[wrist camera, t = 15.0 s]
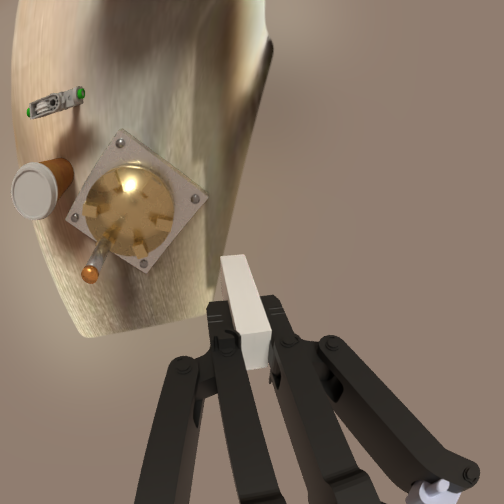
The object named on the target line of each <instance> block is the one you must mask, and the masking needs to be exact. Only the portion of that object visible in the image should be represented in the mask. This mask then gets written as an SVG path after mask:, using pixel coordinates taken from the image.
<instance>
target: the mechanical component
mask: <svg viewBox="0 0 504 504" xmlns="http://www.w3.org/2000/svg"><path fill="white" fill-rule="evenodd" d="M84 97H85V90H84V89H83V88H82V87H80V86H78V87H75V88H74V89H71V90H68V91H65V92H60V93H52V94H50V95H48V96H46V97H44V98H41V99H39V100H36V101H34V102H32V103H29V107H30V108H28V109H27V116H28V117H30V119H36V118H41V117H44V116H47V115H50V114H52V113H55V112H58V111H62V110H66V109H68V108H70V107H73V106H77V105H80V104H83V98H84ZM45 99H46V100H45Z"/></svg>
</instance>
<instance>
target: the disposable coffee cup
mask: <svg viewBox="0 0 504 504" xmlns="http://www.w3.org/2000/svg"><path fill="white" fill-rule="evenodd" d="M73 176H74V172H73V168H72V165H71V164H70V163H69V161H67V160H66V159H64V158H57V159H52V160H48V161H43V162H39V163H38V162H30V163H27V164H25V165H23V166H22V167H21V168H20V169H19V170H18V172H17V174H16V175H15V177H14V179H13V182H12V187H11V196H12V201H13V204H14V206H15V208H16V209H17V211H18V212H19V213H20V215H22V216H23V217H25V218H27V219H29V220H40V219H44V218H46V217H47V216H49V215H50V214H51V213H52V211H53V210H54V208H55V206H56V202H57V201H58V200H59V198H60V197H61V196H62V195H63V193H64V192H65V191H66V189H67V188H68V187H69V186H70V184H71V183H72V180H73Z"/></svg>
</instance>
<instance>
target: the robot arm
mask: <svg viewBox="0 0 504 504" xmlns="http://www.w3.org/2000/svg"><path fill="white" fill-rule="evenodd" d="M220 261H221V285H222V295H223V300H224V301H215V302H209V304H208V306H207V308H206V310H207V320H208V329H209V337H210V344H211V345H210V349H209V350H208V352H207V353H206V354H205V355H203V356H201V357H198V358H196V359H193V358H192V357H188V356H180V357H177V358H175V359H174V360H172V361H171V363H170V365H169V367H168V370H167V374H166V377H165V381H164V384H163V387H162V391H161V395H160V398H159V402H158V406H157V409H156V413H155V417H154V421H153V424H152V429H151V433H150V436H149V440H148V444H147V448H146V452H145V456H144V461H143V465H142V469H141V474H140V478H139V483H138V487H137V492H136V497H135V502H134V504H189V499H190V492H191V485H192V478H193V472H194V465H195V458H196V451H197V445H198V438H199V432H200V425H201V419H202V413H203V407H204V400H205V398H207V397H210V396H212V395H215V394H217V393H218V399H219V405H220V411H221V417H222V422H223V427H224V433H225V438H226V444H227V448H228V454H229V458H230V463H231V468H232V473H233V477H234V482H235V486H236V491H237V495H238V499H239V503H240V504H286V501H285V499H284V497H283V496H282V494H281V492H280V490H279V487H278V483H277V480H276V477H275V473H274V470H273V466H272V463H271V460H270V456H269V453H268V449H267V446H266V442H265V438H264V435H263V431H262V428H261V424H260V420H259V417H258V413H257V409H256V405H255V401H254V397H253V394H252V390H251V386H250V382H249V378H248V374H247V370H250V369H258V368H264V367H268V362H269V365H270V368H271V369H270V376H269V384H271V382H272V383H273V386H274V389H275V393H276V396H277V399H278V402H279V405H280V408H281V412H282V414H283V418H284V421H285V424H286V427H287V430H288V433H289V436H290V439H291V442H292V446H293V449H294V452H295V455H296V457H297V461H298V463H299V467H300V470H301V472H302V476H303V479H304V481H305V484H306V487H307V490H308V502H309V504H386V503H383V502H381V501H380V499H379V497H378V495H377V493H376V490H375V488H374V486H373V483H372V481H371V479H370V477H369V475H368V474H367V473H366V472H365V471H363V470H361V469H359V467H358V466H357V464H356V461H355V459H354V457H353V455H352V452H351V450H350V448H349V445H348V443H347V441H346V439H345V436H344V434H343V432H342V430H341V427H340V425H339V423H338V420H337V418H336V416H335V413H336V414H337V415H338V417H339V418H340V419H341V420H342V421H343V423H344V424H345V425H346V427H347V428H348V429H349V430H350V431H351V433H352V434H353V435H354V436H355V438H356V439H357V440H358V441H359V443H360V444H361V445H362V446H363V447H364V449H365V450H366V451H367V452H368V454H369V455H370V456H371V457H372V458H373V460H374V461H375V462H376V463H377V464H378V466H379V467H380V468H381V469H382V470H383V472H384V473H385V474H386V475H387V476H388V477H389V479H390V480H391V481H392V482H393V483H394V484H395V485H396V486H398V487H399V488H400V489H402V490H403V491H405V492H407V493H408V496H407V497H406V503H407V504H456V503H457V500H458V498H459V496H460V494H461V492H462V491H465V490H467V489H469V488H471V487H473V486H474V485H475V484H476V483H477V481H478V479H479V476H480V469H479V467H478V465H477V464H476V463H475V462H473V461H471V460H468V459H466V458H464V457H461V456H459V455H457V454H455V453H453V452H451V451H448V450H447V449H445V448H444V447H443V446H442V445H441V444H440V443H439V442H438V441H437V439H436V438H435V437H434V436H433V435H432V434H431V433H430V432H429V431H428V430H427V429H426V428H425V427H424V426H423V425H422V423H421V422H420V421H419V420H418V419H417V418H416V417H415V416H414V415H413V414H412V413H411V412H410V411H409V410H408V408H407V407H406V406H405V405H404V404H403V403H402V402H401V401H400V400H399V399H398V398H397V397H396V396H395V395H394V394H393V392H391V390H390V389H389V388H387V386H386V385H385V384H384V383H383V382H382V381H381V380H380V379H379V378H378V377H377V376H376V374H375V373H374V372H373V371H372V370H371V369H370V368H369V367H368V366H367V365H366V364H365V363H364V362H363V361H362V360H361V359H360V358H359V357H358V355H357V354H356V353H355V352H354V351H353V350H352V349H351V348H350V347H349V346H348V345H347V344H346V343H345V342H344V341H343V340H342V339H341V338H339V337H337V336H334V335H328V336H324V337H323V338H321V339H320V341H319V342H314V341H306V340H303V339H301V338H300V337H299V336H298V335H297V334H295V333H294V332H293V330H292V327H291V325H290V323H289V321H288V318H287V316H286V314H285V311H284V309H283V308H282V305H281V303H280V300H279V299H278V298H276V297H275V296H274V295H267V296H259V294H258V291H257V288H256V285H255V282H254V280H253V277H252V274H251V271H250V268H249V266H248V263H247V260H246V257H245V255H244V254H242V255H229V256H220ZM333 410H334V411H335V413H334V411H333Z"/></svg>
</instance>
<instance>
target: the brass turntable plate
mask: <svg viewBox="0 0 504 504" xmlns="http://www.w3.org/2000/svg"><path fill="white" fill-rule="evenodd" d="M174 210H175V207H174V198H173V195H172V192H171V190H170V188H169V186H168V184H167V183H166V181H165V180H164V179H163V178H162V177H161V176H160V175H159V174H158V173H156V172H155V171H153V170H152V169H150V168H148V167H145V166H142V165H137V164H125V165H120V166H117V167H114V168H112V169H110V170H109V171H107V172H106V173H105V174H103V175H102V176H101V177H100V178H99V179H98V180H97V181H96V182H95V183H94V184H93V186H92V187H91V189H90V190H89V192H88V195H87V198H86V202H85V203H84V204H83V210H82V216H85V219H86V223H87V226H88V228H89V231H90V232H91V234H92V236H93V237H94V238H95V240H96V241H97V243H96V245H95V246H96V248H95V249H94V251H93V253H92V255H91V257H90V259H89V261H88V262H87V264H86V266H85V267H84V269H83V271H82V273H81V276H82V279H83V280H84V281H85V282H87V283H89V284H93V283H95V282H96V281H97V279H98V276H99V272H100V270H101V268H102V265H103V263H104V261H105V259H106V257H107V254H108V252H109V251H111V252H113V253H115V254H118V255H123V256H136V257H137V259H141V258H145V257H148V254H149V252H151V251H153V250H155V249H156V248H157V247H159V246H160V245H161V244H162V243H163V242H164V241H165V239H166V238H167V236H168V235H169V233H170V232H171V228H172V224H173V218H174Z"/></svg>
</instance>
